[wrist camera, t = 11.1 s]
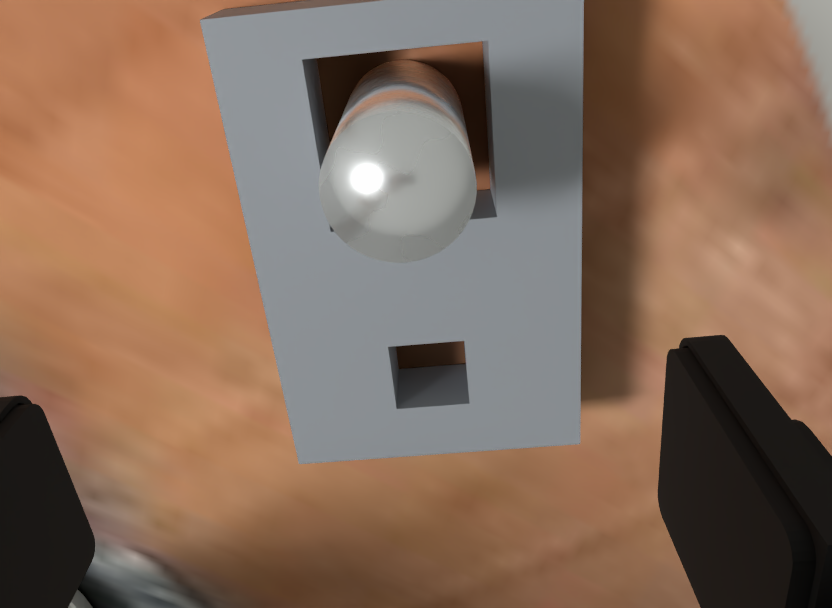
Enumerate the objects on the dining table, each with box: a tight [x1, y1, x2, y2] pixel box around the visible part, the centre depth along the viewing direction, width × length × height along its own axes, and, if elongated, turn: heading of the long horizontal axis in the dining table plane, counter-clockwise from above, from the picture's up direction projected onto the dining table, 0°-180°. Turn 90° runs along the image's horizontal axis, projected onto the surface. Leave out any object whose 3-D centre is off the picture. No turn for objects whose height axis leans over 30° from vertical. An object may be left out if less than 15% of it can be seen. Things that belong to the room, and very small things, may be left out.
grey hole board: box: [200, 0, 584, 464], centre depth 28 cm, size 18×12×3 cm, turn 6°
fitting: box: [319, 60, 477, 263], centre depth 24 cm, size 4×4×8 cm
